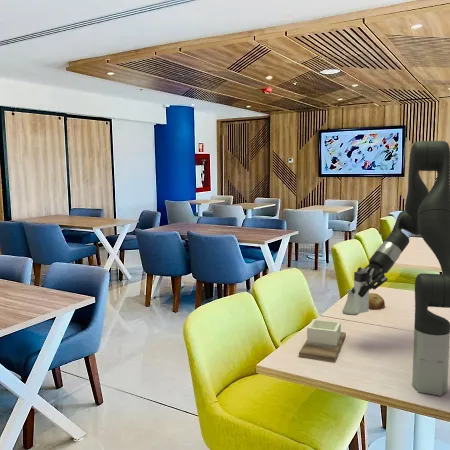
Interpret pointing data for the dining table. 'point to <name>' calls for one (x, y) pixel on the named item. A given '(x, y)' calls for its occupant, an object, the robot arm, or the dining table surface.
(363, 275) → the grey tall bar
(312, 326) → the pale open square box
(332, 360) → the serving board
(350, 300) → the flask
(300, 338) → the dining table surface
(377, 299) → the bread roll
